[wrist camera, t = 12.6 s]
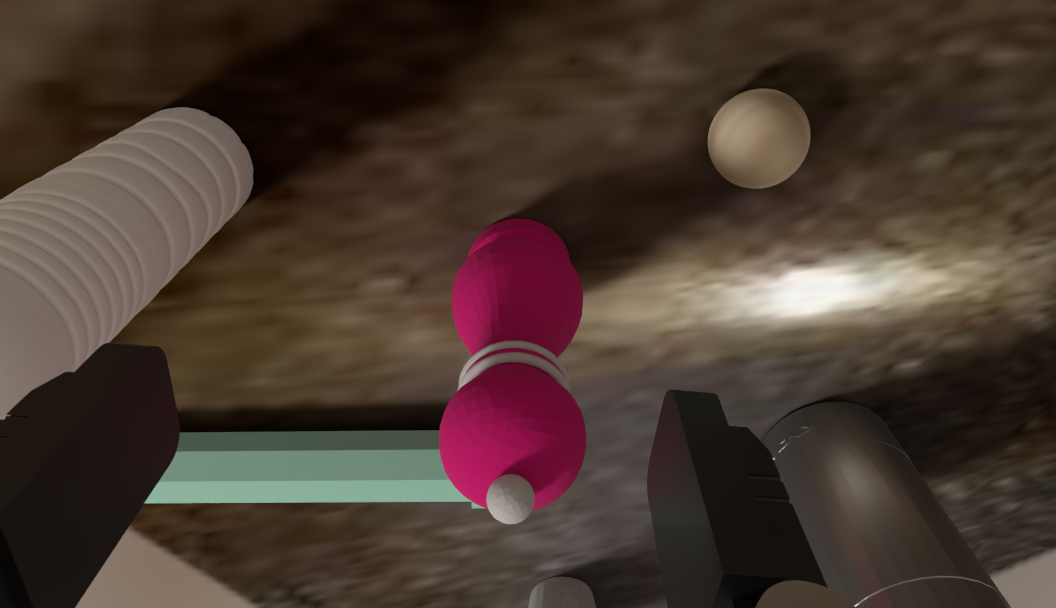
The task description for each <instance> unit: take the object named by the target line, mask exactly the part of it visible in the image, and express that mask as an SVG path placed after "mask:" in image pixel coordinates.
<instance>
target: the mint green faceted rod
mask: <svg viewBox="0 0 1056 608" xmlns="http://www.w3.org/2000/svg"><path fill="white" fill-rule="evenodd" d="M439 431H440V430H409V431H293V432H180V436H179V443H178V447H177V451H176V453H175V456H174V458H173V460H172V462H171V464H170V465H169V467H168V468H167V470H166V471H165V473H164V474H163V476H162V477H161V479H160V480H159V482H158V483H157V485H156V486H155V488H154V489H153V491H152V492H151V494H150V495H149V497H148V498H147V500H146V501H145V503H278V502H466V501H471V500H469V499H468V498H466V497H465V496H463V495H462V494H461V493H460V492H459V491H458V490H457V489H456V488H455V487H454V485H453V484H452V482H451V481H450V479H449V478H448V476H447V474H446V472H445V469H444V467H443V464H442V461H441V457H440V450H439ZM471 502H472V501H471ZM472 508H484V507H482V506H479V505H477V504H475V503H474V502H472Z"/></svg>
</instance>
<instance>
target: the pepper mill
mask: <svg viewBox="0 0 1056 608" xmlns="http://www.w3.org/2000/svg"><path fill="white" fill-rule="evenodd" d="M582 307H583V292H582V285H581V282H580V279H579V277H578V274H577V272H576V270H575V268H574V267H573V265H572V264H571V262H570V257H569V253H568V250H567V247H566V246H565V244H564V242H563V241H562V239H561V238H560V237H559V236H558V235H557V234H556V233H555V232H554V231H553V230H552V229H550V228H549V227H547V226H546V225H544V224H541V223H539V222H537V221H533V220H529V219H508V220H503V221H500V222H497V223H495V224H493V225H491V226H489V227H488V228H486V229H485V230H484V231H483V232H481V233H480V234H479V235H478V237H477V238H476V239H475V241H474V242H473V244H472V246H471V248H470V251H469V254H468V258H467V260H466V261H465V262H464V264H463V265H462V266H461V268H460V270H459V272H458V273H457V276H456V279H455V281H454V285H453V292H452V312H453V317H454V321H455V324H456V327H457V330H458V333H459V335H460V338H461V339H462V341H463V342H464V344H465V345H466V347H467V348H468V349H469V351H470V353H471V354H472V357H471V358H470V359H469V361H468V362H467V363H466V365H465V366H464V368H463V370H462V372H461V375H460V379H459V387H458V391H457V392H456V394H455V395H454V396H453V397H452V398H451V400H450V402H449V403H448V405H447V407H446V409H445V411H444V415H443V418H442V421H441V424H440V431H439V450H440V457H441V461H442V464H443V467H444V469H445V472H446V474H447V476H448V478H449V479H450V481H451V482H452V484H453V485H454V487H455V488H456V489H457V490H458V491H459V492H460V493H461V494H462V495H463V496H465V497H466V498H468V499H469V500H471V501H472V502H474V503H475V504H477V505H479V506H482V507H484V508H487V509H489V511H490V513H491V514H492V515H493V517H494V518H495V519H497V520H499V521H500V522H502V523H505V524H516V523H519V522H521V521H523V520H524V519H526V518H527V517H528V516H529V514H530V513H531V511H532V510H536V509H539V508H542V507H544V506H546V505H548V504H550V503H552V502H553V501H555V500H556V499H557V498H559V497H560V496H561V495H562V494H563V493H564V492H565V491H566V490H567V489H568V488H569V487H570V486H571V485H572V483H573V482H574V480H575V479H576V477H577V475H578V473H579V470H580V468H581V466H582V463H583V460H584V455H585V450H586V431H585V424H584V419H583V415H582V412H581V410H580V408H579V406H578V405H577V403H576V401H575V400H574V398H573V397H572V396H571V393H570V381H569V376H568V373H567V371H566V369H565V367H564V365H563V364H562V362H561V361H560V360H559V359H558V356H559V355H560V354H561V353H562V352H563V351H564V350H565V349H566V347H567V346H568V345H569V343H570V342H571V340H572V338H573V337H574V335H575V332H576V330H577V328H578V326H579V323H580V319H581V316H582Z"/></svg>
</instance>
